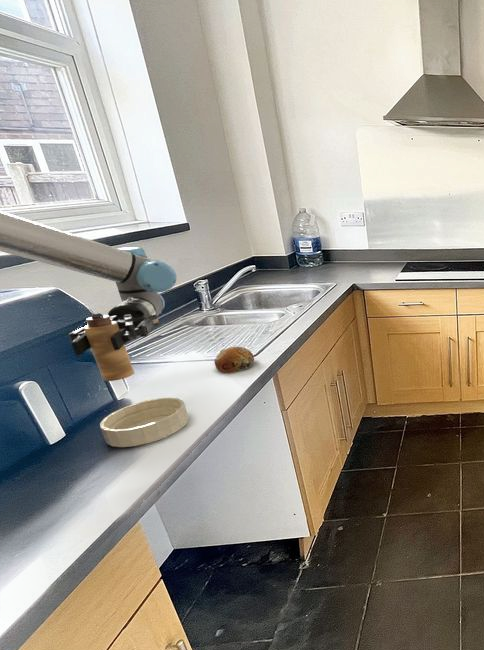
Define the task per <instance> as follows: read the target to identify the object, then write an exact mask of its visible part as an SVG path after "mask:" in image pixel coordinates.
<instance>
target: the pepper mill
mask: <svg viewBox="0 0 484 650" xmlns="http://www.w3.org/2000/svg"><path fill="white" fill-rule="evenodd" d="M85 322H87V324H88V325H86V326H84V327H83V328H84V331H85V334H86V336H87V339H88V342H89V344H90V349H91V352H92V355H93V358H94V360H95V364H96V365H97V368H98V370H99V373H100V376H101V378H102V381H104V382H115V381H120V380H124V379H127V378H129V377H131V376H133V375H134V374H135V370H134V368H133V367H134V366H133V364H132V361H131V359H130V356H129V353H128V350H127V347H126V344H124V345H123V346H122V347H121V348H120V349H119V350H114V348H113V345H112V342H111V339H110V338H111V337H112V336H113V335H114V334H115V333H117V332H118V331H119V327H118V324H117V322H116V321H111V319H110V316H109V315H107V314H102V313H100V312H96V313H93V314H92V315H91V316H89V317H87V318H86V319H85Z"/></svg>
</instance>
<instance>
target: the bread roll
mask: <svg viewBox="0 0 484 650" xmlns="http://www.w3.org/2000/svg"><path fill="white" fill-rule="evenodd" d="M213 362H214V366H215V368H216V370H217V371H218V372H220V373H222V374H232V373H238V372H242V371H244V370H245V371H246V370H247V369H249V368H251V367H252V366H253V365H254V362H255V357H254V354H253V352H252V351H251V350H250V349H248V348H246V347H245V346H244V347H243V346H236V345H235V346H229V347H227V348H224V349H221V350H220V352H219V353H218V354H217V355H216V357H215V358H214V361H213Z"/></svg>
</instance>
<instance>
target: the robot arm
mask: <svg viewBox="0 0 484 650" xmlns="http://www.w3.org/2000/svg"><path fill="white" fill-rule="evenodd" d="M0 252H1V253H5V254H8V255H13V256H16V257H19V258H24V259H28V260H32V261H35V262H39V263H43V264H47V265H50V266H54V267H59V268H61V269H66V270H70V271H74V272H77V273H81V274H85V275H88V276H91V277H97V278H100V279H105V280H108V281H112V282H115V284H116V287H117V291H118V294H119V297H120V301H121V302H120V303H119V304H117V305H115V306H114V307H112V308H111V309H110V310H109V311H108V312H107V314H106V315H109V316H110V319H111V321H116V322H117V324H118V327H119V331H118V332H117V333H115V334H114V335H113V336H112V337H111V338H110V339H111V342H112V345H113V348H114V350H119V349H120V348H121V347H122V346H123V345H124V344H125V345H126V344H127V343H128V342H130V341H132V340H135V339H137V338H138V336H140V337H141V338H146V337H147V336H149V334H150V333H151V332H152V331H154V329H155V328H156V327H158V326H160V325H161V323H160V320H159V318H158V316H160V315H161V314H162V313H163V310H164V309H165V303H166V302H165V299H164V297H163V296H162V295H161V294H160V293H164V292H167V291H169V290H171V289H173V288H174V286H175V284H176V283H177V273H176V271H175V269H173V267H172V266H170V265H169V264H168V263H166V262H163V261H160V260H157V259H151V258H149V257H148V256H147V254H146V252H145V249H144V248H142V247H138V246H136V247H135V246H129V247H114V246H110V245H107V244H105V243H101V242H98V241H95V240H92V239H89V238H87V237H82V236H79V235H76V234H73V233H71V232H67V231H64V230H60V229H57V228H55V227H51V226H48V225H44V224H42V223H40V222H39V223H38V222H36V221H33V220H29V219H26V218H23V217H20V216H17V215H14V214H11V213H8V212H5V211H2V210H0ZM87 325H88V324H87ZM85 326H86V325H85ZM80 327H81V326H80ZM78 328H79V327H78ZM78 328H76V329H77V330H76V329H74V330H75V331H74V330H72V331H71V332H70V333H68V336H69V339H70V342H71V343H70V344H71V346H72V349H73V351H74V354H75V356H81V355H83V354H84V353H85V352H87V350H89V349H91V347H90V344H89V342H88V339H87V336H86V334H85V331H84V328H83V327H81V328H79V329H78Z"/></svg>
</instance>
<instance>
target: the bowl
mask: <svg viewBox="0 0 484 650" xmlns="http://www.w3.org/2000/svg"><path fill="white" fill-rule="evenodd" d="M189 419H190V416H189V413H188V410H187V407H186V404H185V401H184V400H183V399H180V398H178V397H159V398H153V399H147V400H143V401H139V402H135V403H133V404H130V405H127V406H125V407H122V408H119V409H117V410H115V411H113V412H111V413H110V414H108V415H107V416H105V417H104V418H102V420H101V421H100V423H99V426H100V430H101V433H102V435H103V438H104V441H105V443H106V444H107V445H108V446H111V447H115V448H127V447H129V448H130V447H137V446H143V445H147V444H151V443H154V442H157V441H159V440H162V439H164V438H167V437H169V436H171V435H173V434H174V433H176V432H178V431H179V430H181V429H182V428H183V427H184V426H185V425H186V424H188V422H189Z"/></svg>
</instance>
